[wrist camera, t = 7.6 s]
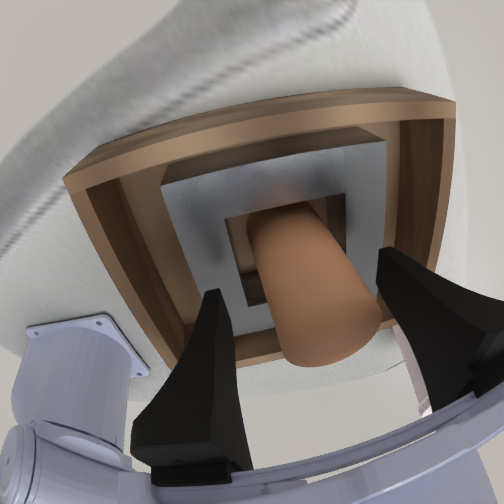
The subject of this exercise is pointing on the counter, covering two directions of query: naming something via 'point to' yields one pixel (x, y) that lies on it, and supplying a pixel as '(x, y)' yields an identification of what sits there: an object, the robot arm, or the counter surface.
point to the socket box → (230, 136)
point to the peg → (310, 286)
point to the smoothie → (413, 372)
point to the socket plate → (273, 195)
